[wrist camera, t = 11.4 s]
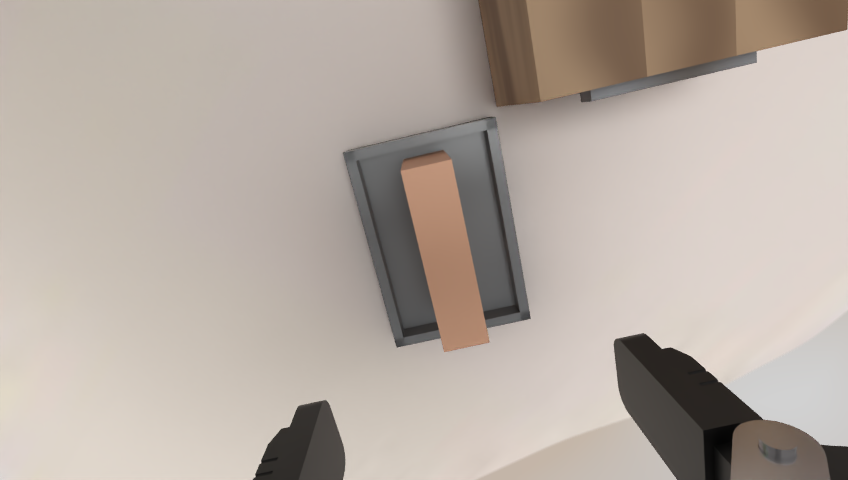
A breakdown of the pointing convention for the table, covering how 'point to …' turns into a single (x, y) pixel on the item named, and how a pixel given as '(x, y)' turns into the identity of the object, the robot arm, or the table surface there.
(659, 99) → the table surface
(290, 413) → the table surface
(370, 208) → the tray
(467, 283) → the tan rectangular block
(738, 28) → the cardboard shipping carton
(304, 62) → the table surface
